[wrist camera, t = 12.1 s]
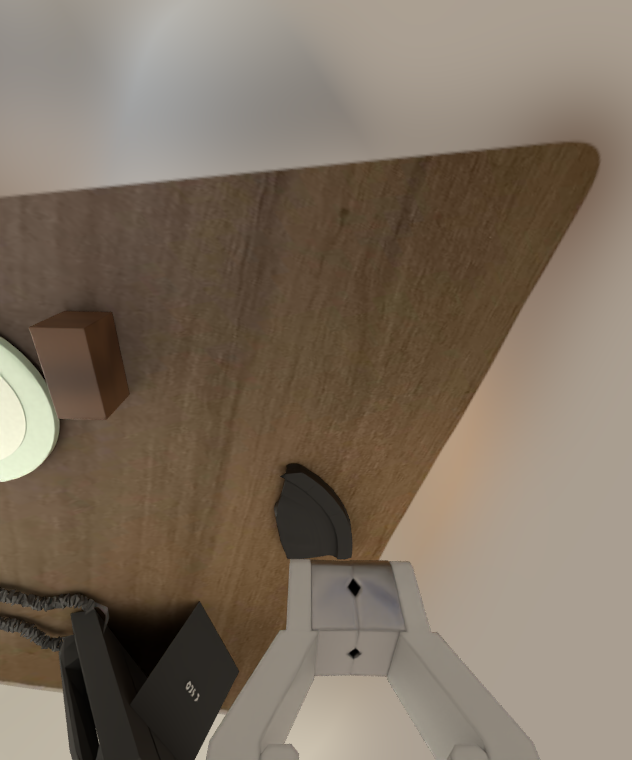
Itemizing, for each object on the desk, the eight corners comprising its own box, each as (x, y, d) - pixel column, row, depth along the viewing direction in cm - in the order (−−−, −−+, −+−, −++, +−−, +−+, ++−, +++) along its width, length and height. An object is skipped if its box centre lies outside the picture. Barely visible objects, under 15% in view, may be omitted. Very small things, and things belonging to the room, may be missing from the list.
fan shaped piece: (343, 457, 39) (345, 467, 37) (352, 546, 45) (354, 558, 43) (265, 466, 39) (263, 476, 37) (284, 553, 45) (284, 565, 43)
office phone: (-42, 586, 46) (-268, 836, 28) (172, 550, 44) (79, 793, 26) (72, 702, 59) (-32, 925, 41) (242, 677, 57) (213, 900, 39)
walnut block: (64, 310, 31) (28, 326, 27) (112, 312, 31) (83, 328, 27) (86, 393, 35) (57, 419, 31) (129, 394, 35) (106, 420, 31)
